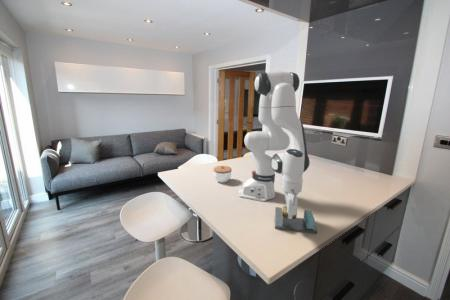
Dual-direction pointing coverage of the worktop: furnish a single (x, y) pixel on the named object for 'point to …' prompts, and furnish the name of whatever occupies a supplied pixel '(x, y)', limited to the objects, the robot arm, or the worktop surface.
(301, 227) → the press bed
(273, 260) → the worktop surface
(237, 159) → the worktop surface
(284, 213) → the tan short block
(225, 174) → the lidded bowl
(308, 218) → the block
